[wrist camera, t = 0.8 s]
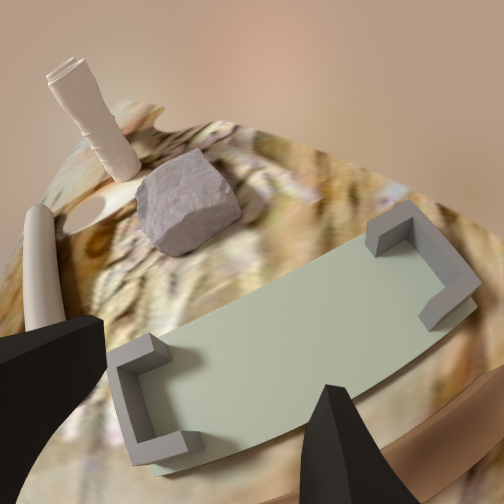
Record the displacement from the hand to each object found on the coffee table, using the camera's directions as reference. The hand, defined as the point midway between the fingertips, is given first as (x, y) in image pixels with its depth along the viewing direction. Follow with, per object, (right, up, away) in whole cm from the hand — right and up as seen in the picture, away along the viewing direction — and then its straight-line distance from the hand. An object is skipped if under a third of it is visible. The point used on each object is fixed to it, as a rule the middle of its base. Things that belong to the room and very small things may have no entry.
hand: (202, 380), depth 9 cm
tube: (-24, +1, +25) cm, 35 cm away
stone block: (-6, +8, +24) cm, 27 cm away
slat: (+10, -12, +6) cm, 17 cm away
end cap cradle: (+5, -3, +13) cm, 14 cm away
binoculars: (-20, +19, +35) cm, 44 cm away
